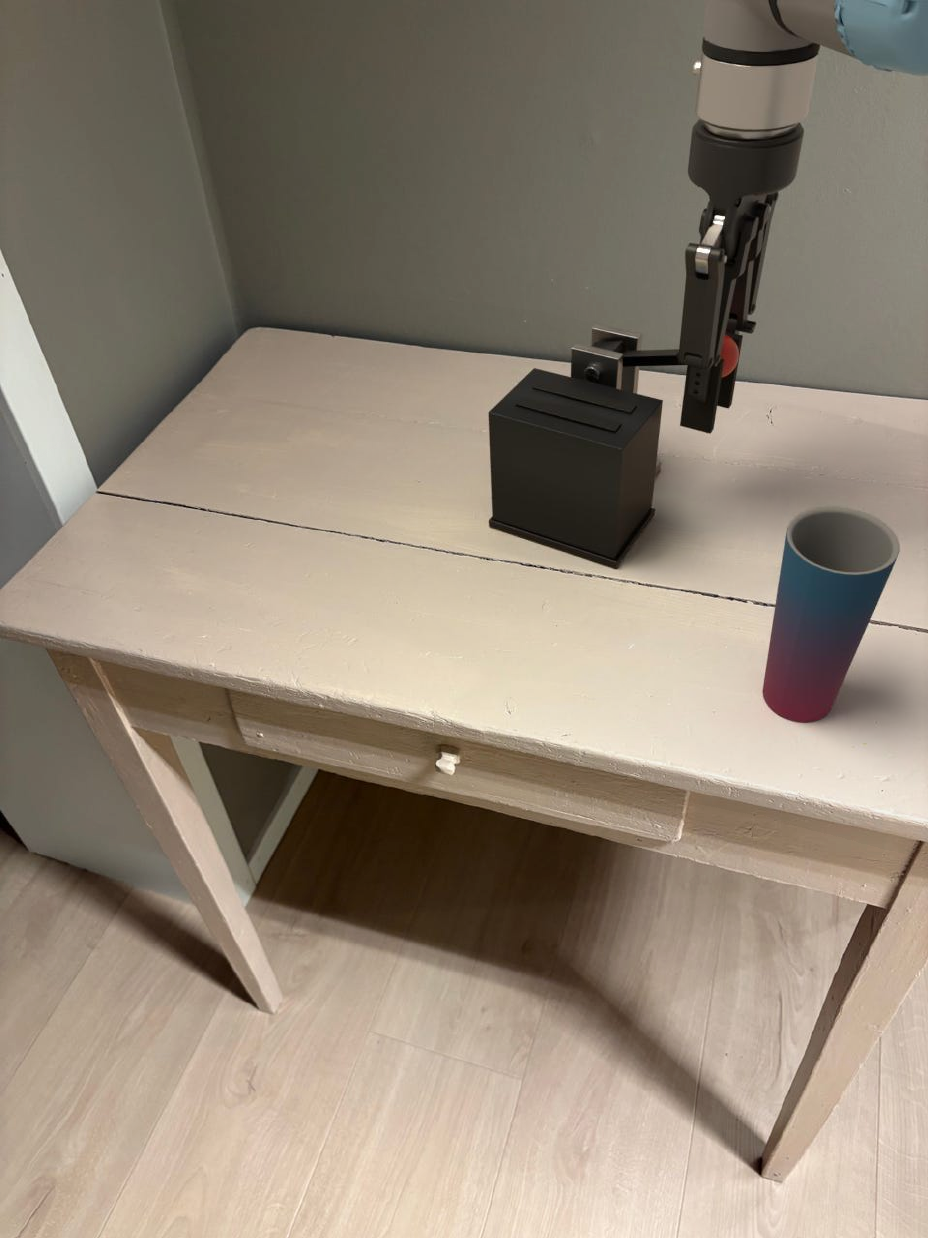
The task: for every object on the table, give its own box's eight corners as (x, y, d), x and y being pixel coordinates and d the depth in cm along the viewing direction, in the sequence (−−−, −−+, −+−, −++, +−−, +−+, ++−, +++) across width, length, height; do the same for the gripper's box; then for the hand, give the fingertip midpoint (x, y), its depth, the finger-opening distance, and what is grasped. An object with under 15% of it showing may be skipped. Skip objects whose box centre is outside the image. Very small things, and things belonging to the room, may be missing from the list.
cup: (782, 649, 74) (822, 492, 64) (863, 694, 71) (920, 535, 60) (731, 698, 71) (765, 541, 61) (813, 747, 67) (864, 590, 57)
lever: (747, 365, 79) (742, 324, 77) (732, 386, 77) (726, 344, 75) (604, 369, 87) (596, 331, 85) (587, 387, 85) (578, 349, 83)
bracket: (660, 469, 92) (675, 337, 82) (635, 503, 88) (647, 369, 79) (567, 443, 96) (570, 314, 86) (539, 474, 92) (539, 343, 83)
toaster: (654, 515, 87) (667, 398, 79) (616, 569, 82) (625, 450, 74) (532, 478, 92) (532, 364, 84) (488, 526, 87) (483, 410, 79)
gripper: (737, 80, 72) (700, 360, 89) (649, 152, 62) (625, 453, 79) (838, 91, 69) (780, 379, 86) (762, 168, 59) (712, 478, 76)
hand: (706, 414), depth 82 cm, fingers closed on lever, 4 cm apart
